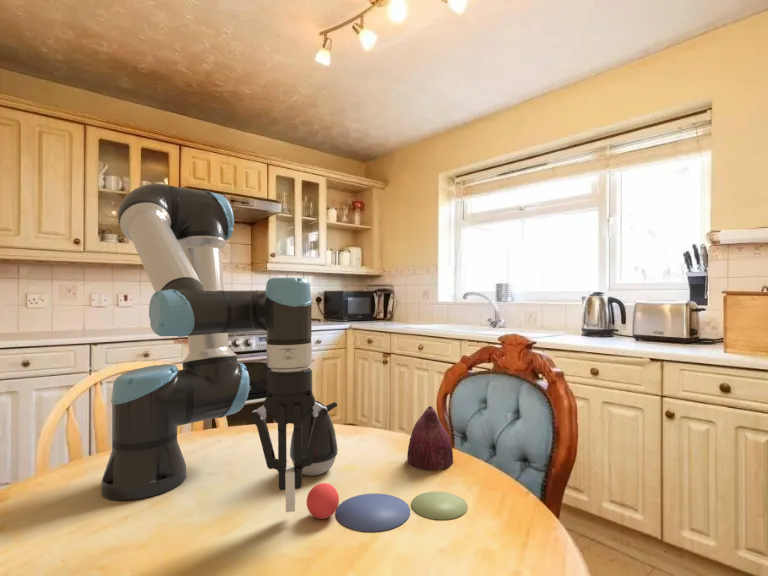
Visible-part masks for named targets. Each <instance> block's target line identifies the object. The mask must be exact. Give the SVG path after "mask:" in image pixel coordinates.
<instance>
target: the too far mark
mask: <svg viewBox="0 0 768 576" xmlns="http://www.w3.org/2000/svg"><path fill="white" fill-rule="evenodd" d="M410 503H411V508H412V510H413V511H414V512H415V513H416V514H418V515H419V516H421V517H424V518H426V519H431V520H439V521H442V520H443V521H446V520H447V521H448V520H454V519H457V518H460V517H462V516H463V515H465V513H467V511H468V503H467V502H466V500H465V499H464V498H462V497H461V496H458V495H456V494H454V493H452V492H451V493H450V492H446V491H427V492H423V493H420V494H417V495H416V496H415V497H413V498H412V500H411V502H410Z"/></svg>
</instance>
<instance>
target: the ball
mask: <svg viewBox="0 0 768 576" xmlns="http://www.w3.org/2000/svg"><path fill="white" fill-rule="evenodd" d="M339 502H340V495H339V493H338V491H337V489H336V488H335V487H334V486H333V485H332V484H329V483H326V482H323V483H318V484H315V485H314V486H313V487H312V488H311V489H310V490H309V492H308V493H307V496H306V507H307V510H308V512H309V514H311V516H313V517H314V518H316V519H320V520H324V519H327V518H330V517H331V516H333V515H334V514H335V513H336V510H337V508H338V506H339V505H340V504H339Z"/></svg>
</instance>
